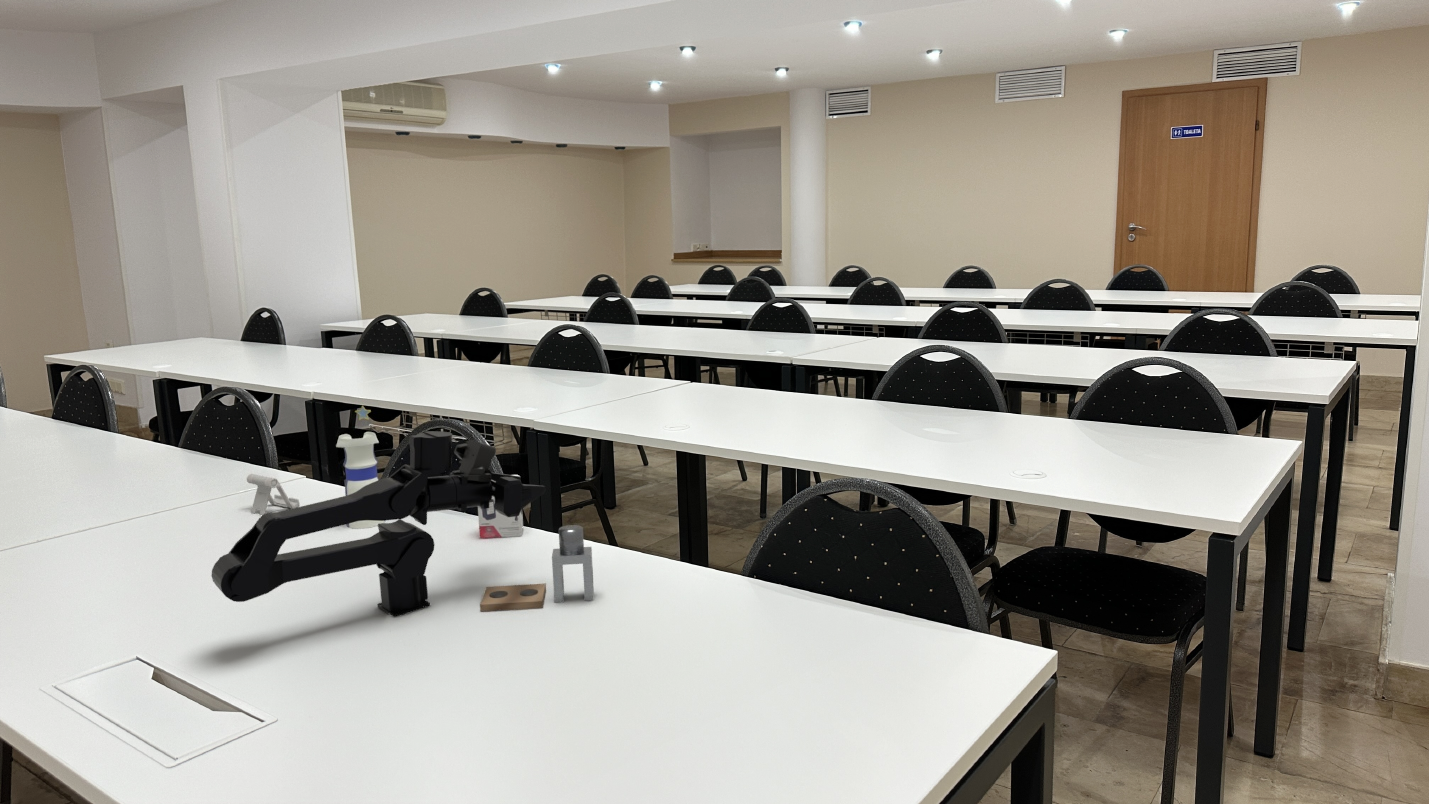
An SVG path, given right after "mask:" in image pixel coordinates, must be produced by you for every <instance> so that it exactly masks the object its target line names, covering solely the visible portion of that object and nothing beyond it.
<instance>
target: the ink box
mask: <svg viewBox="0 0 1429 804" xmlns="http://www.w3.org/2000/svg"><path fill="white" fill-rule="evenodd" d="M512 475H513V476H519V477H521V476H520V475H518V474H512ZM494 503H495V497H494V496H492V499H491V501H489V508H487V509H483V508H481V507H479V506H477V515H478V517H477V518H478V529H479V530H478V531H479V532H478V533H479V539H480V538H483V539H495V538H494V537H499V538H512V537H513V538H515V537H523V532H524V519H523V509H522V510H521V512H520V514H519V516H515V517H507V516H504V515H502V514H500V513H499V512H498V511H496V510H495V509H494ZM522 527H523V528H522Z"/></svg>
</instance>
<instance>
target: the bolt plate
mask: <svg viewBox="0 0 1429 804" xmlns="http://www.w3.org/2000/svg"><path fill="white" fill-rule="evenodd" d="M546 585H547V584H546V583H532V584H531V583H528V584H514V585H513V584H511V585H497V586H495V585H494V586H486V587H485V590H484V593H483V595H482V599H481V602H480V603H479V608H480V612H481V613H482V612H483V613H484V612H498V611H497V610H500V611H511V610H512V611H513V610H514V609H515V610H517V611H518V610H530V609H543V608H544V604H545V603H544V602H545V598H546V593H547V586H546ZM515 610H514V611H515Z"/></svg>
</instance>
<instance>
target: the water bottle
mask: <svg viewBox="0 0 1429 804" xmlns="http://www.w3.org/2000/svg"><path fill="white" fill-rule="evenodd" d="M354 412H355V413H356V414H358V415H359V417H358V421H360V420H362V419H365V420H368V421H369V415H368V414H369V413H371V412H372V411H371V409H366V408H365V407H364V405H362V406H361V408H360V409H358V410H355V411H354ZM379 443H380V442H379V440H378V438H377V435H376V433H375V432H372V431H366V432H364V433H363V437H361V438H360V437H359V438H352V436H351V435H350V434H348V433H344V434H341V435H339V436H338V439H337V443H336V444H335V447H336V448H339V449H343V450H344V457H345V458H344V462H343V463H342V466H343V467H344V468H345V484H344V491H345V492H344V493H345V495H344V496H347V495H350V494H352V493H355V492H357V491H358V490H360V489H361V488H363V487H364V486H366V485H368V484H371V483H373V482H376V481H378V480H380V479H379V476H378V470H377V469H378V468H377V464H378V462H379V460H378V459H377V457H376V455H375V451H374V450H375V448H374V447H375V444H379ZM380 523H385V522H384V521H373V520H364V521H357V522H353V523H349V524H346V525H347V527H348V528H350V529H357V530H358V528H360V530H361V528H362V529H369V528H370V529H371V528H375V527H378V524H380Z"/></svg>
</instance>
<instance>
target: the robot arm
mask: <svg viewBox="0 0 1429 804" xmlns="http://www.w3.org/2000/svg"><path fill="white" fill-rule="evenodd" d="M408 439H409V441H408V442H409V443H408V444H409V449H410V453H409V457H410V458H409V459H410V461H409V463H410V464H403V465H402V466H401V467H399V468H398V469H397V470H396V471H394V472H393V473H392V474H391V475H390V476H388V477H383V478H380V479H379V480H378V481H376V482H373V483H371V484H368V485H366V486H364V487H363V488H361V489H360V490H358V491H357V492H355V493H352V494H350V495H347V496H346V495H343V496H339V497H335V498H331V499H327V500H322V501H319V502H315V503H314V502H313V503H309V504H305V505H302V506H301V505H300V506H299V507H297V508H293V509H290V508H288V509H285V510H281V511H277V512H273V511H272V512H267V513H266V512H265V514H264V515H262V516H261V515H260V517H259V518H258V519H257V521H256V522H255V523H254V525H253V526H252V528H250V529H249V530H248V531H247V532H246V533H245V534H244V535H243V536H242V537H240V539H239V540H237V541H236V542H235V544H234V545H233V546H232V548H231V549H230V551H228V553H226V554H223V555H222V556H220V557H219V559H217V561H216V562H215V563H214V564H213V567H212V569H211V579H212V582H213V584H215V586H216V587H217V588H218V589H219V591H220V592H221V593H222V595H224V596H225V598H228V599H229V600H231V601H233V602H237V603H242V602H243V603H244V602H248V601H250V600H253V599H256V598H258V597H261V596H264V595H266V594H269V593H270V592H272V591H274V590H276V589H277V588H279V587H281V586H282V585H284V584H286V583H290V582H296V581H300V580H305V579H310V578H314V577H320V576H324V575H329V574H334V573H340V572H344V571H348V570H349V571H350V570H354V569H359V568H364V567H370V566H375V565H376V567H377V568H378V569H379V570H381V571H383V572H381V573H379V574H378V578H379V579H378V580H379V588H380V589H379V590H380V599H381V600H380V603H378V604H377V608H378V609H381V611H383V612H385V613H387V614H388V615H390V616H392V617H394V618H395V617H399V616H402V615H405V614H409V613H412V612H415V611H419V610H422V609H425V608H428V607H431V602H429V601H428V598H429V596H428V584H427V583H428V582H427V576H426V575H425V574H426V570H427V566H428V563H429V560H430V558H431V557H432V556H433V553H434V550H435V541H434V538H433V536H432V535H431V534H430V533H429V532H428V531H425V530H423V529H422V528H420V527H418V526H416V525H415V524H414V523H412V522H407V521H404V520H403V519H406V518H407V517H411V518H412V519H414V521H416V522H417V523H418V524H421V525H423V526H426V525H427V524H428V513H432V512H440V511H448V510H449V511H450V510H457V511H460V512H466V511H467V510H468V508H475V507H477V508H478V506H479V507H481V508H483V509H487V508H489V501H491V499H492V496H494V497H495V503H494V509H495V510H496V511H498V512H499V513H500V514H502V515H504V516H507V517H515V516H519V514H520V512H521V510H522V511H523V509H524V508H526V506H528V505H529V504H531V503H532V502H534V501H535V500H537V499H538V498H539V497H541V496H542V495H544V494H545V493H546V490H547V489H546V488H547V487H546V486H545V485H537V484H525V483H522V481H521V476H520V475H519V476H520V477H519V476H513V475H514V474H505V473H499V472H498V473H497V472H492V471H491V470H490V466H491V464H492V461H493V459H494V457H495V455H496V453H497V450H496V447H495V446H492V445H489V444H487V443H483V442H481V441H478V440H474V439H470V440H466V441H465V442H466V443H461V444H456V446H455V448H454V450H453V433H451V432H449V431H448V432H447V431H437V430H435V431H433V430H432V431H424V432H421V433H418V434H416V435H409V438H408ZM453 453H454V455H456V456H457V458H458V459H460V460H459V464H460V466H459V467H458V470H452V472H450V469H451V468H452V467H453V466H452V465H453V464H452V463H453V462H452V461H453ZM447 472H449V475H445V474H446V473H447ZM442 475H443V476H442ZM429 476H430V477H429ZM407 481H408V482H407ZM364 520H373V521H385V522H384V523H380V524H378V526H377V528H378V531H377V532H376V533H375V534H373V535H372V536H371V535H370V537H366V538H359V539H356V540H349V541H345V542H344V541H343V542H339V543H332V544H328V545H323V546H318V547H317V546H316V547H313V548H306V549H300V550H296V551H295V550H294V551H289V552H283V553H279V552H280V550H281V547H282V546H283V545H284V544H285V542H286V541H287V540H290V539H294V538H298V537H301V536H305V535H310V534H315V533H317V532H318V533H319V532H321V531H325V530H329V529H332V528H336V527H340V526H345V525H347V524H349V523H353V522H357V521H364ZM386 521H393V522H386Z"/></svg>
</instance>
